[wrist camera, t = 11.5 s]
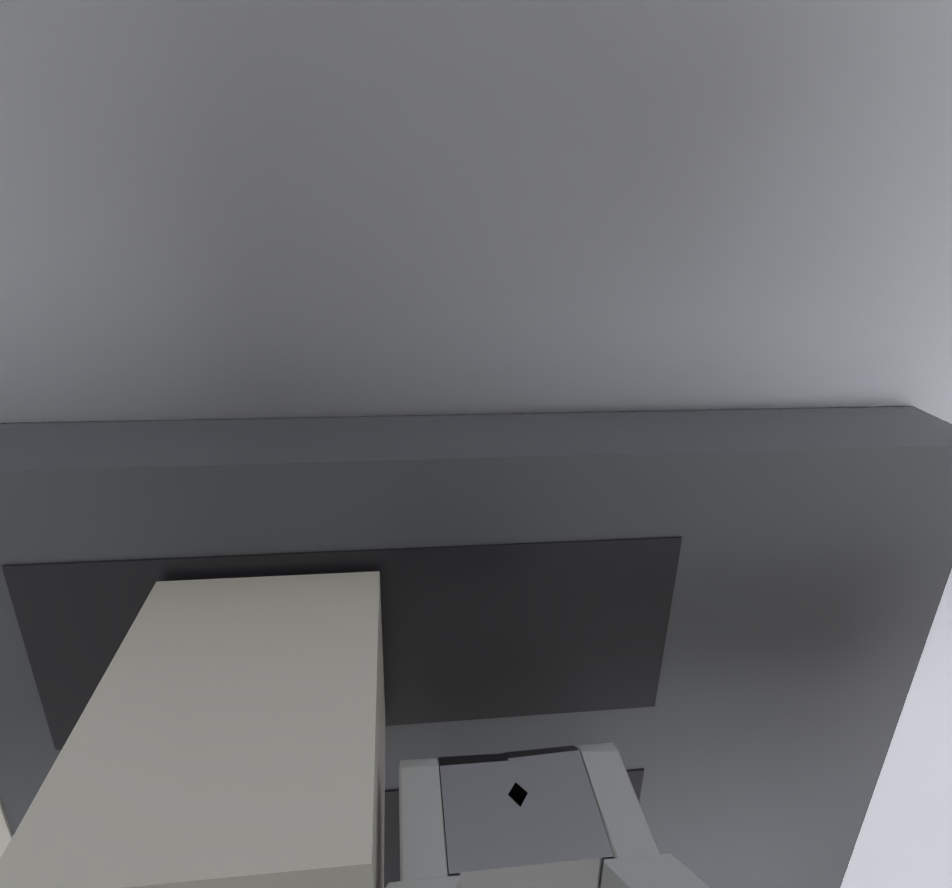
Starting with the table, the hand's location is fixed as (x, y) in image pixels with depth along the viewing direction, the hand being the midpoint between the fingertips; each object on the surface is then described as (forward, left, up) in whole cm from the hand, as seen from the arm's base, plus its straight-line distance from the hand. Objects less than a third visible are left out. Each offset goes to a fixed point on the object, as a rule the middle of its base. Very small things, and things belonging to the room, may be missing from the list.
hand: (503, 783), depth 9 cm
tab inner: (0, -3, -3) cm, 4 cm away
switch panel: (+6, -2, -5) cm, 8 cm away
